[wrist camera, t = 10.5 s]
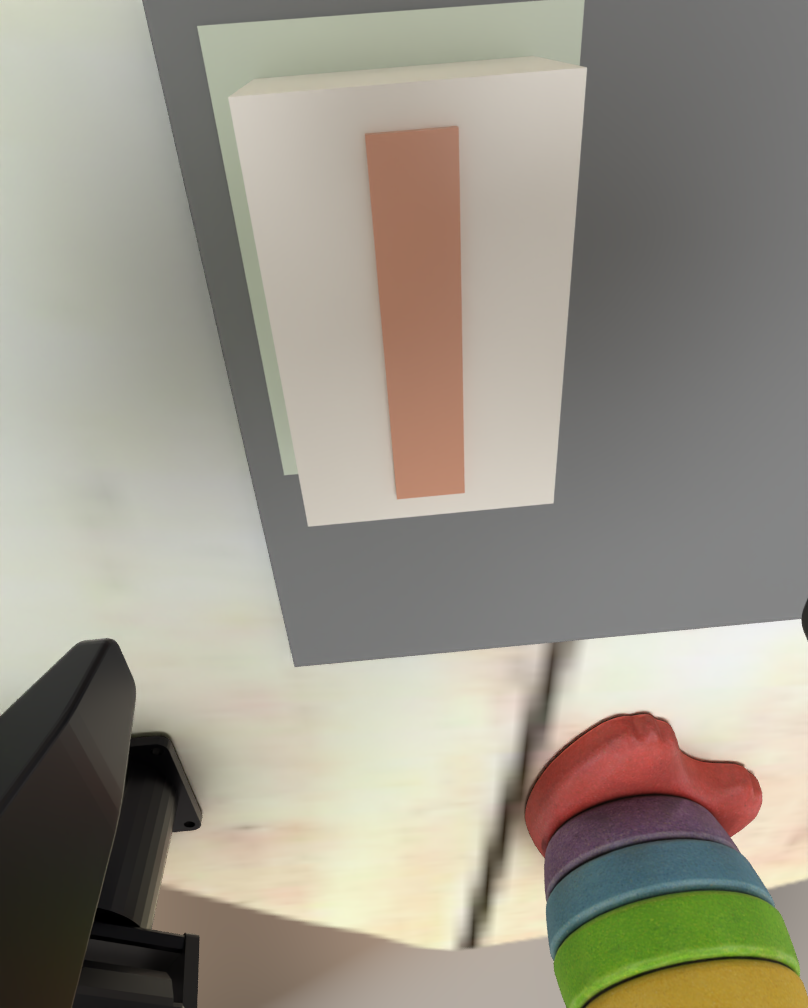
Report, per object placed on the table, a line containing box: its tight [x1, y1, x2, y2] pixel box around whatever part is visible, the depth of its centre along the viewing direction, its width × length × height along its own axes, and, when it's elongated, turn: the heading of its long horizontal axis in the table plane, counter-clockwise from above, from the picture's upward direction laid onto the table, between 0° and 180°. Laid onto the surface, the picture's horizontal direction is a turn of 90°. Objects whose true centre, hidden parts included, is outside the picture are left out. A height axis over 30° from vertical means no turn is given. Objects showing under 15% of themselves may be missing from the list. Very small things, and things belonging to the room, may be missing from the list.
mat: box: [142, 0, 808, 667], centre depth 20 cm, size 20×22×1 cm
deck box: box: [228, 56, 587, 527], centre depth 16 cm, size 6×9×4 cm, turn 4°
